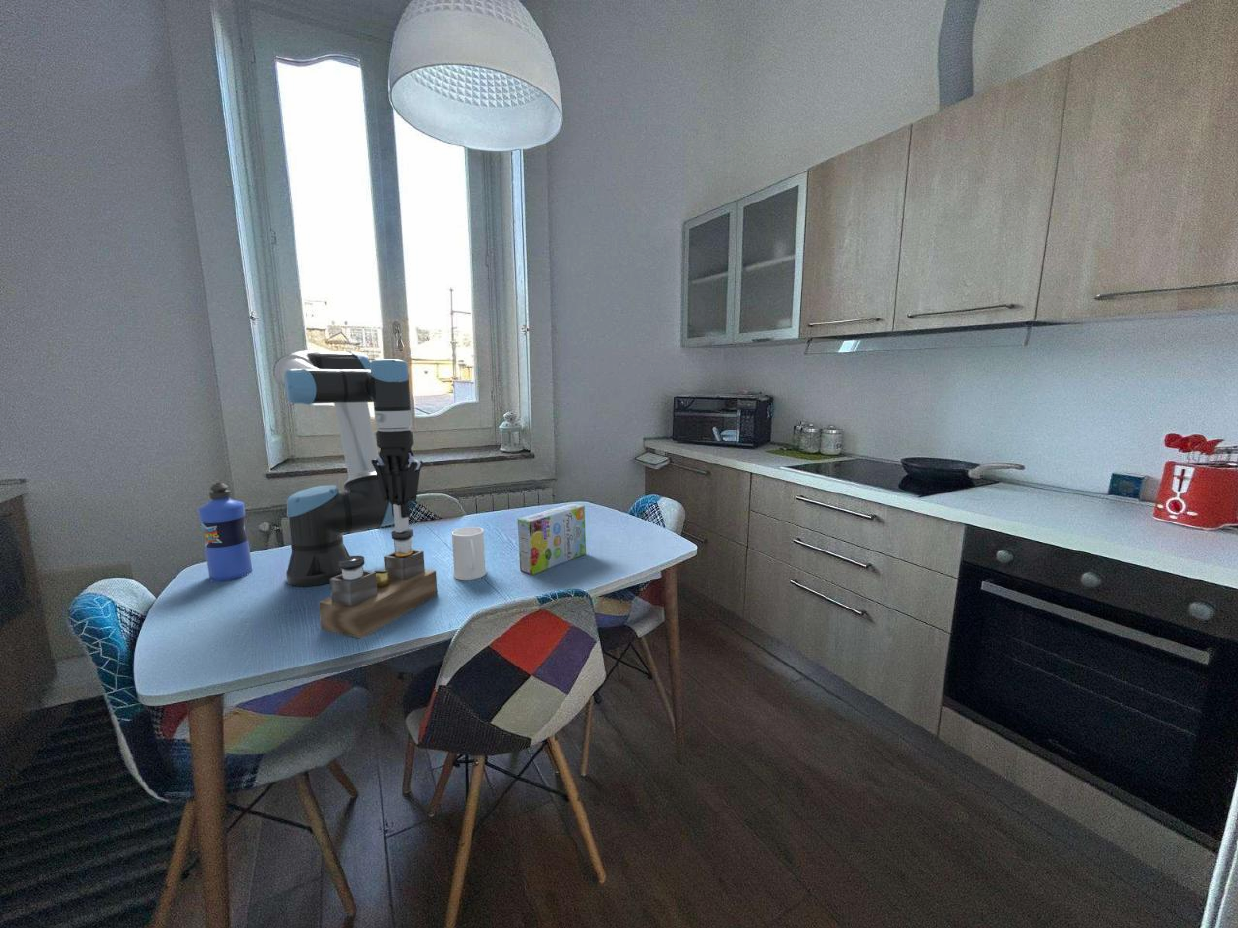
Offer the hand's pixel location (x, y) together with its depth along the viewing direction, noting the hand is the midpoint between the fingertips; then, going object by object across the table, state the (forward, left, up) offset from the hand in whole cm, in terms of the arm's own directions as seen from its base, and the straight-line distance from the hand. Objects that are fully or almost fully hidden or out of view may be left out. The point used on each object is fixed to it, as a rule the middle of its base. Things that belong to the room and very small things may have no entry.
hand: (402, 530), depth 112 cm
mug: (+6, +16, -17) cm, 24 cm away
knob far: (0, 0, -8) cm, 8 cm away
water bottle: (-55, -5, -17) cm, 58 cm away
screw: (0, -7, -11) cm, 13 cm away
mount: (0, -7, -17) cm, 18 cm away
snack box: (+22, +33, -17) cm, 43 cm away
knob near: (0, -14, -10) cm, 17 cm away
